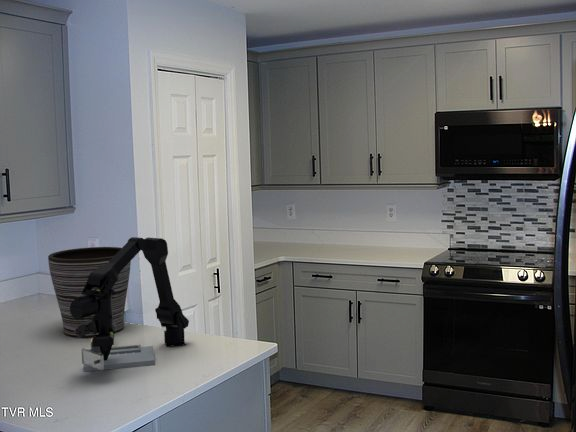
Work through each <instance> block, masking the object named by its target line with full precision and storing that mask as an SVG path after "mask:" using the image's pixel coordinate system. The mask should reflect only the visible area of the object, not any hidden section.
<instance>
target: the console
mask: <svg viewBox="0 0 576 432" xmlns="http://www.w3.org/2000/svg"><path fill="white" fill-rule="evenodd" d="M84 349H85V348H84V347H83V348H81V361H82V362H81V363H82V365H83V366H82V367H83V369H82V370H83V372H94V371H101V370H100V369H97V368H94V367H92V366H89V365H86V364H84V359H83V350H84ZM86 349H87V350H90V351H92V350H91V348H89V349H88V348H86ZM154 351H155V350H154V346H153V345H149V346H147V345H146V346H141V344H134V345H133V344H131V345H123V346H112V348H111V351H110V353H109V356H108V359H107V360H106V361H104V369H103V370H114V369H123V368H124V369H125V368H136V367H144V366H146V367H147V366H155V365H156V362H155V361H156V360H155V353H154ZM99 354H101V353H99ZM103 370H102V371H103Z"/></svg>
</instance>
